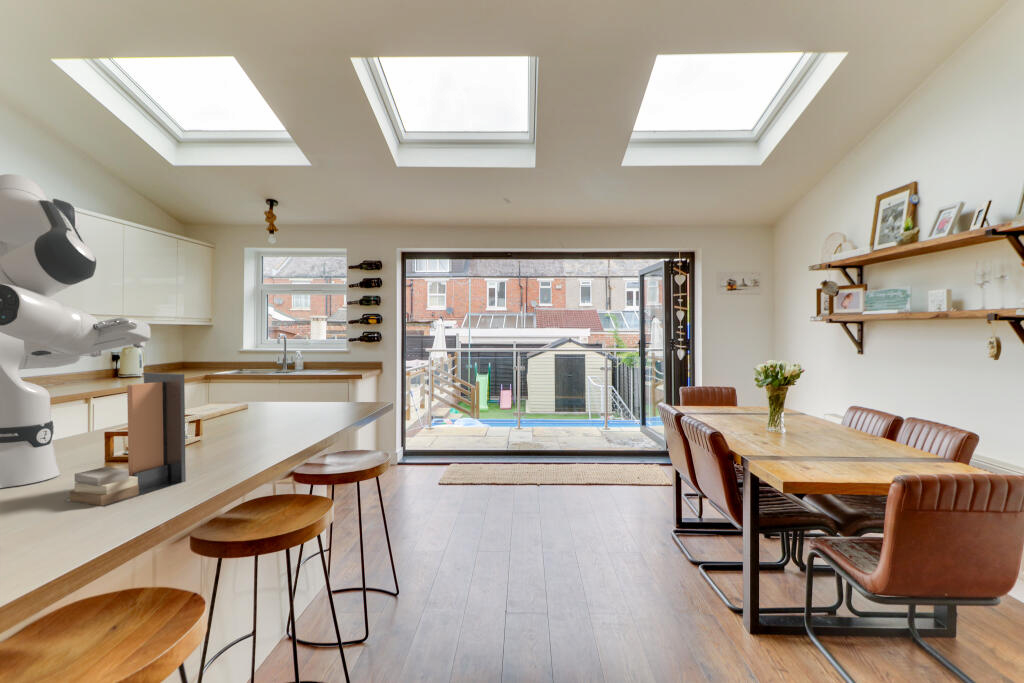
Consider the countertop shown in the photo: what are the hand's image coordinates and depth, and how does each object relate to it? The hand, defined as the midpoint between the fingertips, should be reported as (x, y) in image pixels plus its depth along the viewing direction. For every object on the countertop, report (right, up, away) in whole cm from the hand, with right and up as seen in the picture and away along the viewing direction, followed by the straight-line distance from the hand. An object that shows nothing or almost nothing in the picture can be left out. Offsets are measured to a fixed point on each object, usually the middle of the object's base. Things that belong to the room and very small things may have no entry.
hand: (120, 348), depth 112 cm
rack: (+2, -34, 0) cm, 34 cm away
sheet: (+3, -32, +4) cm, 33 cm away
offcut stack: (0, -32, -4) cm, 33 cm away
